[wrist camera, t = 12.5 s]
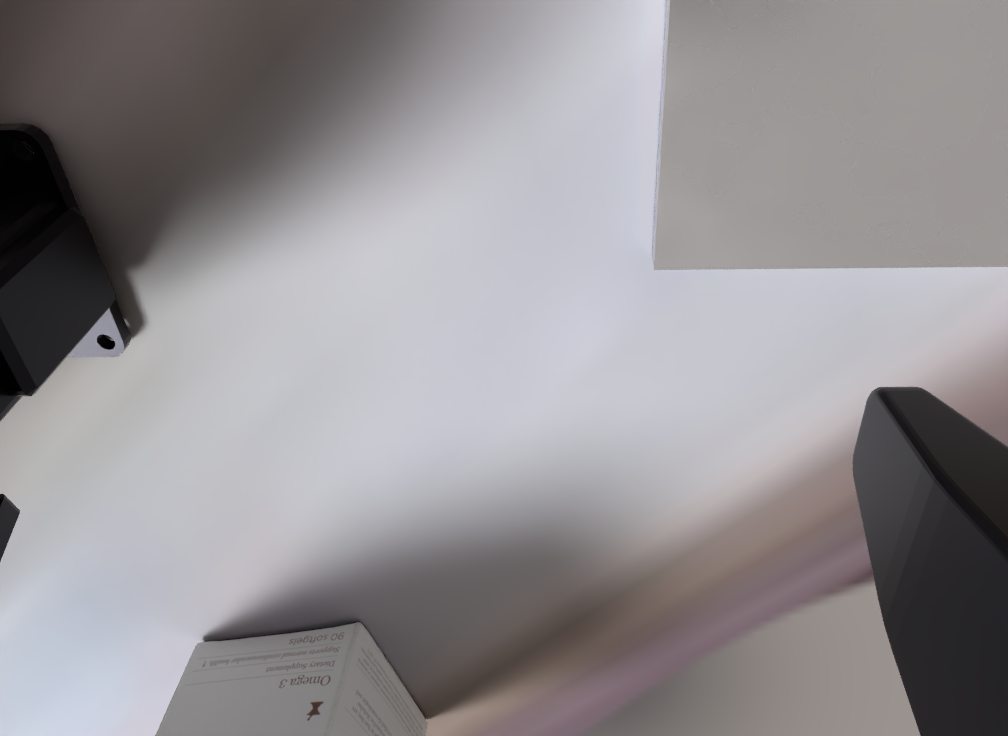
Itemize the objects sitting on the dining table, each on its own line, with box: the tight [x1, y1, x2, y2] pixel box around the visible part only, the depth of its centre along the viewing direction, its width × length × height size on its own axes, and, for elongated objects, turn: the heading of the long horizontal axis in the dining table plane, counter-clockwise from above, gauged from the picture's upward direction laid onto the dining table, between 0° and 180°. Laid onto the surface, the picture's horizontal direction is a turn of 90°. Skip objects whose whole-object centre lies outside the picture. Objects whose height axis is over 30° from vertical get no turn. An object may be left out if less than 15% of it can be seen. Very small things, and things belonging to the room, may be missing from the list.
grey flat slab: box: [652, 0, 1008, 270], centre depth 17 cm, size 9×7×1 cm
